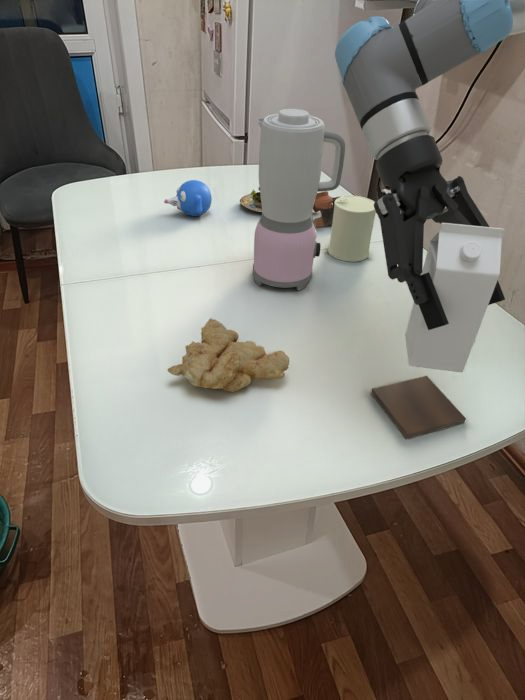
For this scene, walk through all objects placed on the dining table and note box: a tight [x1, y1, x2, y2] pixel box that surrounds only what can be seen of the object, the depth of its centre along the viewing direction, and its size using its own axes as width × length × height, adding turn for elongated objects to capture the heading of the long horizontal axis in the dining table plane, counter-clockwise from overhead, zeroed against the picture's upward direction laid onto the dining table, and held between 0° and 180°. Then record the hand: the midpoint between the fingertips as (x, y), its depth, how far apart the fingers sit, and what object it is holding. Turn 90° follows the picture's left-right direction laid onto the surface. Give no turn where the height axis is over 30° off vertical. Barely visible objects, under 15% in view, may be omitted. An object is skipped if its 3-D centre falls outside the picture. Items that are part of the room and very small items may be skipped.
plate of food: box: [239, 186, 262, 213], centre depth 132 cm, size 12×12×8 cm
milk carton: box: [404, 223, 506, 373], centre depth 65 cm, size 7×7×19 cm
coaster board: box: [370, 375, 467, 440], centre depth 77 cm, size 10×10×1 cm
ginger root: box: [167, 318, 290, 393], centre depth 79 cm, size 16×16×8 cm
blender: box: [252, 108, 346, 291], centre depth 96 cm, size 16×12×32 cm
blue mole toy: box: [163, 179, 213, 217], centre depth 126 cm, size 12×12×8 cm
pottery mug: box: [312, 191, 340, 229], centre depth 128 cm, size 12×9×8 cm
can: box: [327, 195, 377, 263], centre depth 112 cm, size 9×9×12 cm
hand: (467, 314), depth 63 cm, fingers closed on milk carton, 10 cm apart
